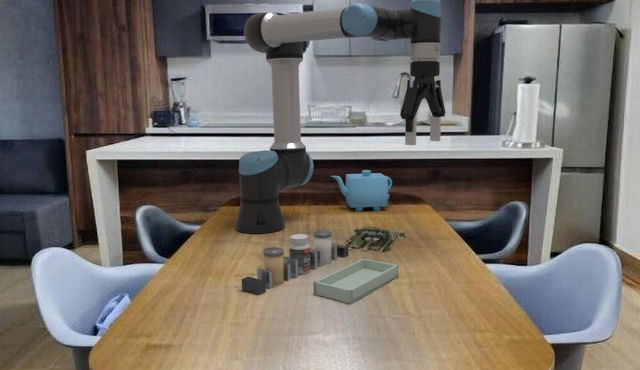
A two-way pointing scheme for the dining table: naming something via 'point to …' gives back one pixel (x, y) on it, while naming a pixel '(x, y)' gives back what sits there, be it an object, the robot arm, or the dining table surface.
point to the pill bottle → (300, 252)
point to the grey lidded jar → (323, 244)
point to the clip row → (289, 269)
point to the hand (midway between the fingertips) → (423, 143)
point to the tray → (355, 280)
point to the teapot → (365, 190)
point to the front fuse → (274, 264)
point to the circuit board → (374, 238)
